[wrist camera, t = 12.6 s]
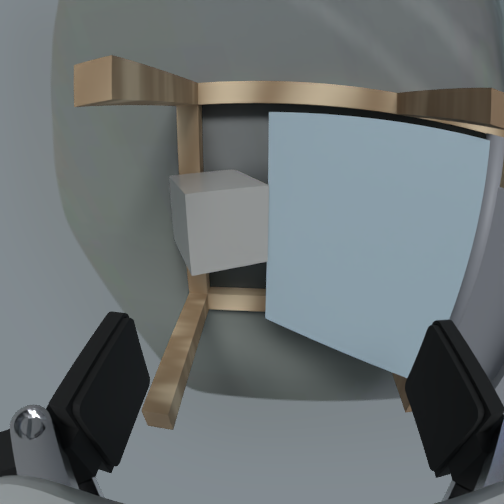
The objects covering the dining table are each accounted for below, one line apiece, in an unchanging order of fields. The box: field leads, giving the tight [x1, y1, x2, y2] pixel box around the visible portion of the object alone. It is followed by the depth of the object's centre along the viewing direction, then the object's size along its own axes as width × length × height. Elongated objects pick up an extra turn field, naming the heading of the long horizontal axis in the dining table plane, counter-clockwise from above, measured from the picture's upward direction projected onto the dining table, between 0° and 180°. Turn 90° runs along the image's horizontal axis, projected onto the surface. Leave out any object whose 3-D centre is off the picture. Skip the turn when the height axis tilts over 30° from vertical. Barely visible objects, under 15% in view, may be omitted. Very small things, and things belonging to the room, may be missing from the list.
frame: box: [74, 55, 504, 430], centre depth 18 cm, size 30×19×14 cm, turn 90°
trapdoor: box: [265, 112, 504, 414], centre depth 15 cm, size 21×15×5 cm
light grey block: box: [169, 169, 269, 276], centre depth 21 cm, size 5×5×6 cm
